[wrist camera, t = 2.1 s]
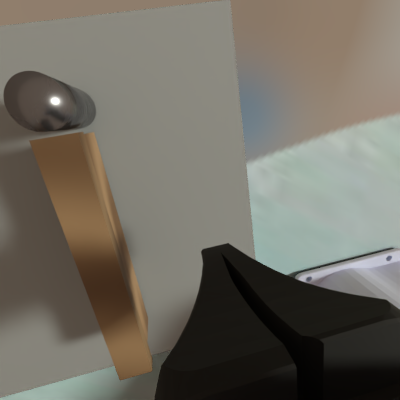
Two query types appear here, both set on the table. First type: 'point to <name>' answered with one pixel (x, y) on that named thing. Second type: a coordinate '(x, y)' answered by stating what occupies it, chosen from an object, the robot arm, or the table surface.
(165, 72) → the mat
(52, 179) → the brown rectangular bar
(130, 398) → the table surface
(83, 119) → the hinge post
